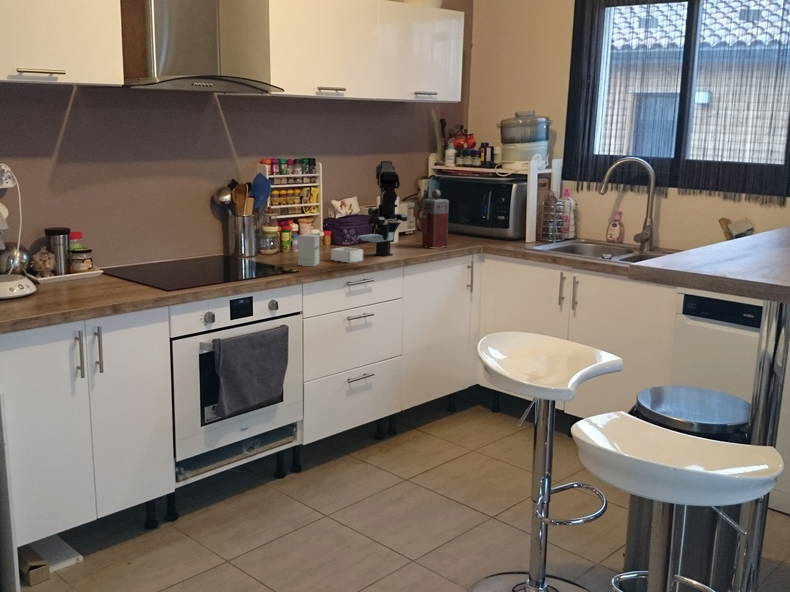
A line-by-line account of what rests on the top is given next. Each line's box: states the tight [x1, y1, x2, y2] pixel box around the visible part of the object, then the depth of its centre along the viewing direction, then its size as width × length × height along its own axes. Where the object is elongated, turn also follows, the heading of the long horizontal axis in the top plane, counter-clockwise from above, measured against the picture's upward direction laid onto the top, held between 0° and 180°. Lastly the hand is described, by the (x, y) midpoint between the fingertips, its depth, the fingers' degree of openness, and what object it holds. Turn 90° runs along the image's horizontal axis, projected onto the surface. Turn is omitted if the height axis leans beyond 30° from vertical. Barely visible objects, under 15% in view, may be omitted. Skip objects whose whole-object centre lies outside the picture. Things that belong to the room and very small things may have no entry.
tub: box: [330, 246, 364, 264], centre depth 347 cm, size 11×9×5 cm
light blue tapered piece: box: [357, 232, 393, 243], centre depth 334 cm, size 14×9×4 cm, turn 50°
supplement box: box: [297, 233, 320, 267], centre depth 334 cm, size 7×7×13 cm
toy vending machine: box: [420, 189, 450, 247], centre depth 387 cm, size 9×11×28 cm
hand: (387, 239), depth 330 cm, fingers closed on light blue tapered piece, 3 cm apart
